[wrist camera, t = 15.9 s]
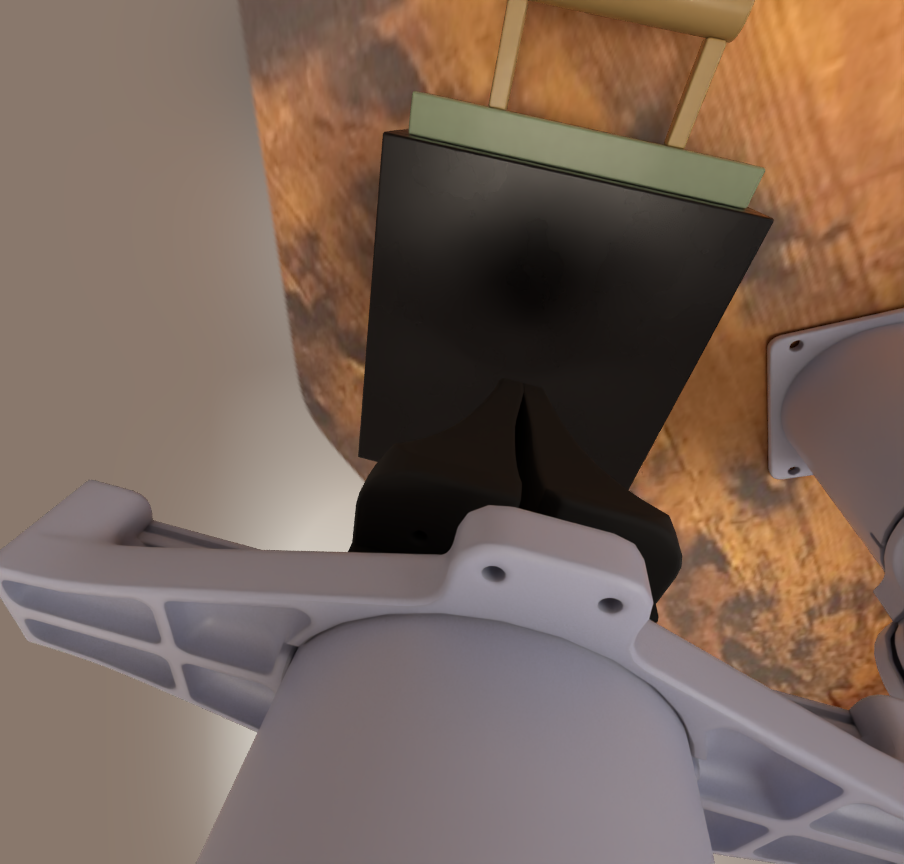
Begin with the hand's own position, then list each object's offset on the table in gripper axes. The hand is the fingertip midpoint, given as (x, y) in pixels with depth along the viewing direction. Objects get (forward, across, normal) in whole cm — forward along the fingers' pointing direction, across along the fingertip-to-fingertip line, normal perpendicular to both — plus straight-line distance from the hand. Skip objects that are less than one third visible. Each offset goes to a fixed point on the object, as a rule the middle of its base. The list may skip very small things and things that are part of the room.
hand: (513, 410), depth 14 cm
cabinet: (+9, 0, +1) cm, 9 cm away
